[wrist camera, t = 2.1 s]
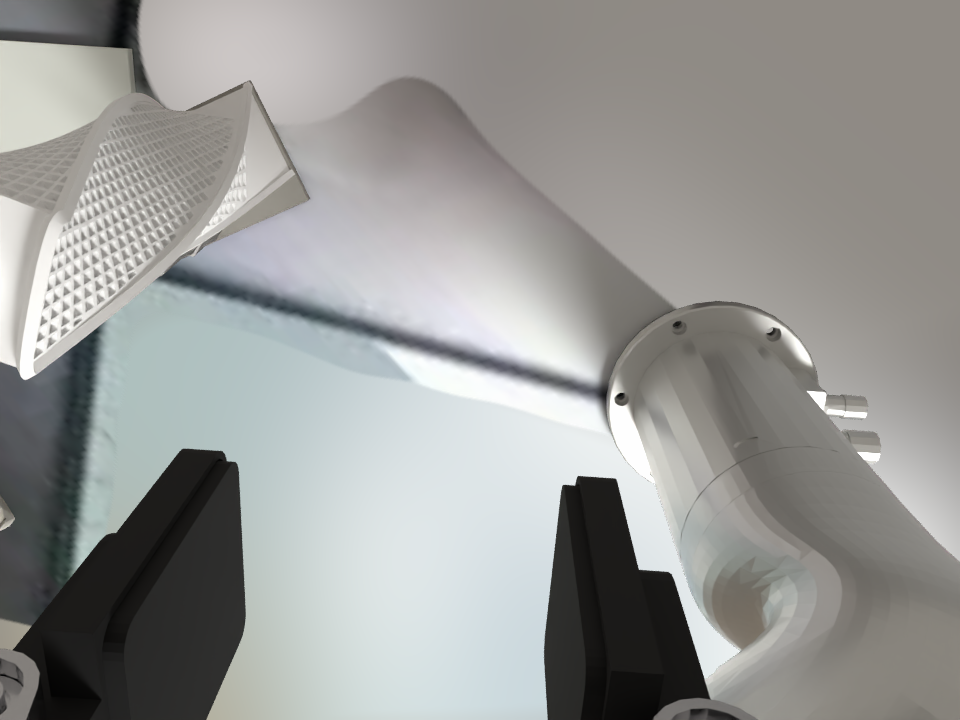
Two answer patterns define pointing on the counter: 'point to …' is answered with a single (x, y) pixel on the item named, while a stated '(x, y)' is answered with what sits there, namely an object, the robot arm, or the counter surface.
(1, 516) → the packaged product
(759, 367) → the robot arm
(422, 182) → the counter surface
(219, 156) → the twisted tower model
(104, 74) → the mat
